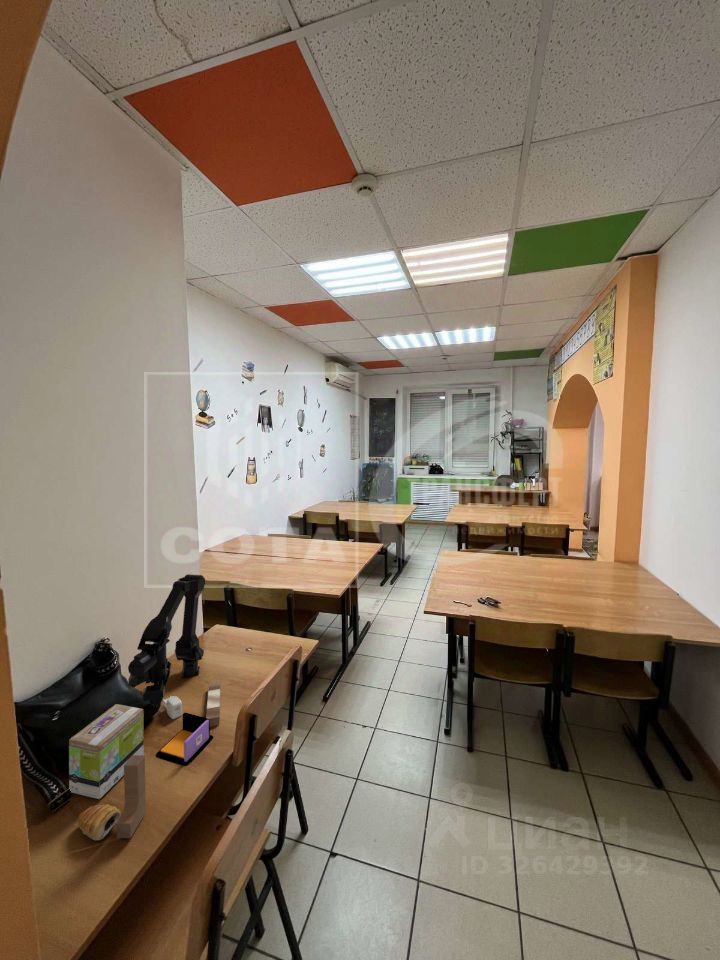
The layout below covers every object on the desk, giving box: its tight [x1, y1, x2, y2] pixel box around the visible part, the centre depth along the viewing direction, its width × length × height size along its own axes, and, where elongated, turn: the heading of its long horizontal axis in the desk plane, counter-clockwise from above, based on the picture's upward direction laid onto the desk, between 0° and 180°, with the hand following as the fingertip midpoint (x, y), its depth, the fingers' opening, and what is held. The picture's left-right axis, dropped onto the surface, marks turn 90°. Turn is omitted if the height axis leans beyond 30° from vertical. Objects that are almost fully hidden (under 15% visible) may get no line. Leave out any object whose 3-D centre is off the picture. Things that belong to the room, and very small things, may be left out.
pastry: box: [76, 803, 122, 841], centre depth 90 cm, size 9×7×4 cm
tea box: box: [68, 703, 145, 800], centre depth 104 cm, size 15×10×15 cm, turn 168°
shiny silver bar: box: [205, 681, 221, 728], centre depth 132 cm, size 20×4×3 cm, turn 19°
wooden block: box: [115, 755, 147, 839], centre depth 90 cm, size 7×3×15 cm, turn 0°
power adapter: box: [161, 694, 183, 720], centre depth 130 cm, size 10×4×5 cm, turn 48°
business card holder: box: [155, 712, 214, 767], centre depth 115 cm, size 12×12×7 cm
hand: (158, 703), depth 132 cm, fingers open, 9 cm apart
